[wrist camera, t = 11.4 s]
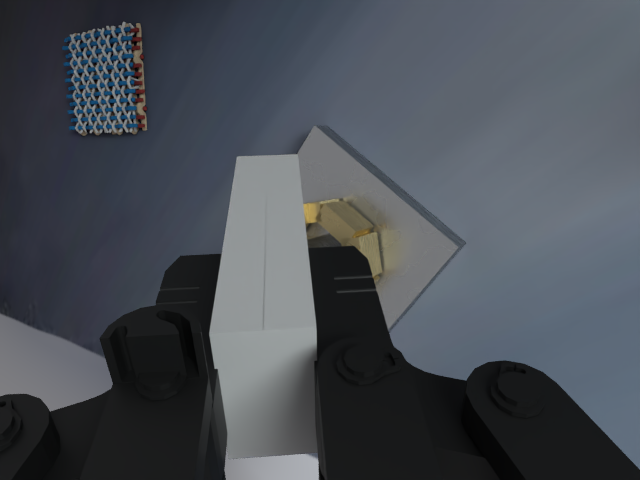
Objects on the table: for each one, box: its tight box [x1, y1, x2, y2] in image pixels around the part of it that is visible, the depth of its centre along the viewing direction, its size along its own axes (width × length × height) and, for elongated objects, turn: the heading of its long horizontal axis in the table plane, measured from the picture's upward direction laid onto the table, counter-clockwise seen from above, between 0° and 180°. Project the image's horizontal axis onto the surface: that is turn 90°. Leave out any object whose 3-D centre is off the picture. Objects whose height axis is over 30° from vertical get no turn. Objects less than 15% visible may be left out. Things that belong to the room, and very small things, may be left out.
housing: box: [297, 125, 466, 332], centre depth 38 cm, size 14×14×10 cm
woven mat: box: [62, 22, 147, 136], centre depth 52 cm, size 10×11×2 cm
